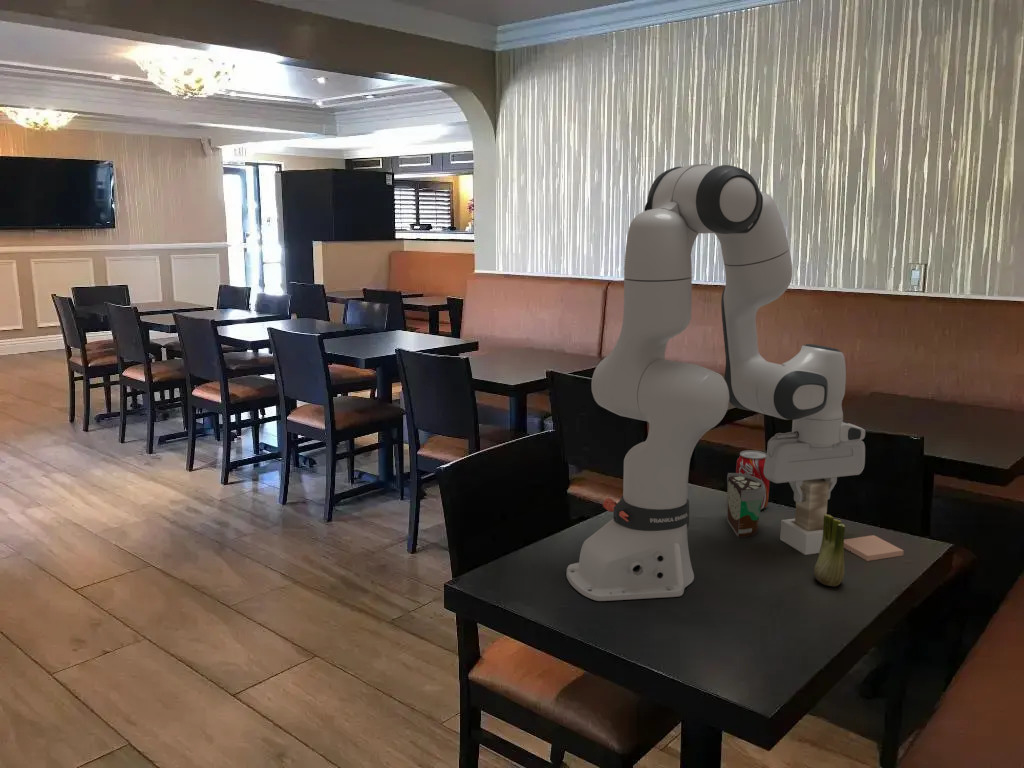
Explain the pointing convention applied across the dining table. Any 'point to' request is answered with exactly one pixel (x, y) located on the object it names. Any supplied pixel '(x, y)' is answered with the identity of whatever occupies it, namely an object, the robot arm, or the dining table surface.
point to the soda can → (754, 469)
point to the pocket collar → (800, 537)
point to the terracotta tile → (872, 548)
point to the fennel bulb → (831, 553)
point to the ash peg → (812, 505)
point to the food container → (744, 503)
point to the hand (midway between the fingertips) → (811, 500)
